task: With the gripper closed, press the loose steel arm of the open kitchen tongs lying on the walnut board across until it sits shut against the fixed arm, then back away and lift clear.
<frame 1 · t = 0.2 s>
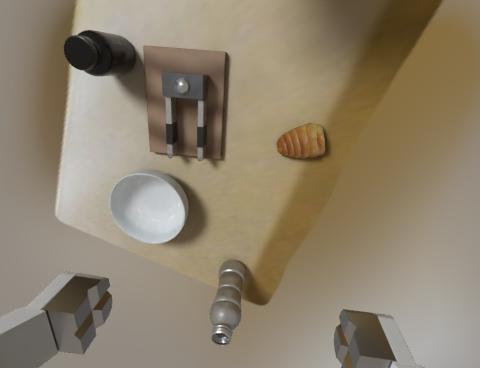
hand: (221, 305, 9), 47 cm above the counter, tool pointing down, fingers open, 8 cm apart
tong hinge: (191, 84, 52), resting on walnut board
cereal bowl: (159, 196, 63), on the counter
fixed tong arm: (177, 123, 55), resting on walnut board
loose tong arm: (202, 130, 52), point 3 cm above the counter, slide at 0.0 cm
pastry: (303, 141, 54), on the counter
supplement bottle: (120, 55, 51), on the counter
walnut board: (186, 105, 53), on the counter
plastic bottle: (233, 266, 69), on the counter
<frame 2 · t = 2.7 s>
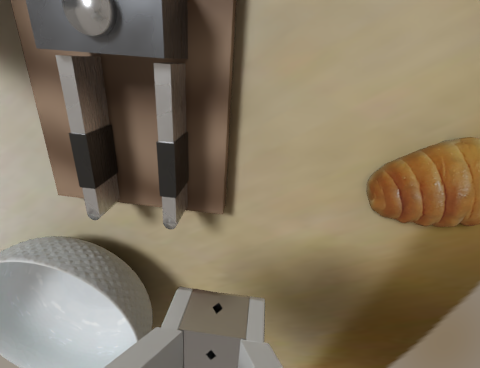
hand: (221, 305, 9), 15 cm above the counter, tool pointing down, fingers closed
tong hinge: (143, 24, 19), resting on walnut board
cereal bowl: (97, 276, 31), on the counter
fixed tong arm: (117, 128, 23), resting on walnut board
loose tong arm: (173, 150, 19), point 3 cm above the counter, slide at 0.0 cm
pastry: (432, 179, 22), on the counter
walnut board: (135, 82, 21), on the counter
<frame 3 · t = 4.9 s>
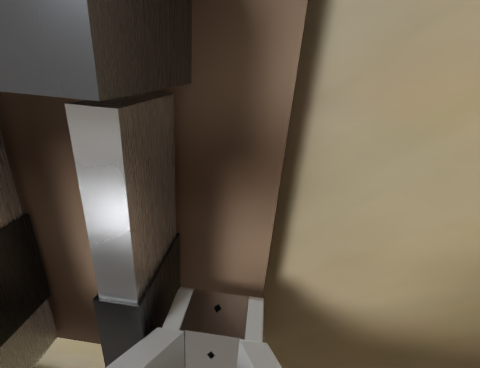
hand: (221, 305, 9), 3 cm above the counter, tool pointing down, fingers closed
tong hinge: (92, 3, 8), resting on walnut board
fixed tong arm: (52, 208, 12), resting on walnut board
loose tong arm: (146, 287, 8), point 3 cm above the counter, slide at 0.3 cm, touching gripper
walnut board: (81, 126, 10), on the counter
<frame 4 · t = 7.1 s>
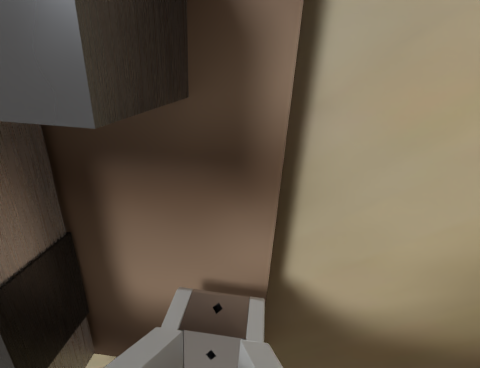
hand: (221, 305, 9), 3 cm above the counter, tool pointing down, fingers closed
tong hinge: (89, 19, 9), resting on walnut board
loose tong arm: (26, 284, 9), point 3 cm above the counter, slide at 4.4 cm
walnut board: (82, 140, 10), on the counter
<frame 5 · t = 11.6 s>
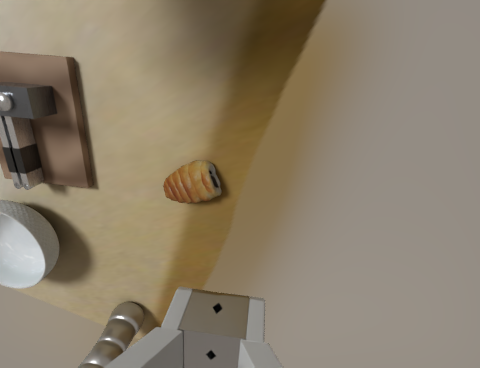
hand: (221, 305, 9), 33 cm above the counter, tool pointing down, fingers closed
tong hinge: (39, 97, 41), resting on walnut board
cereal bowl: (33, 228, 52), on the counter
fixed tong arm: (33, 144, 45), resting on walnut board
loose tong arm: (26, 152, 42), point 3 cm above the counter, slide at 4.4 cm
pastry: (197, 180, 45), on the counter
walnut board: (39, 122, 43), on the counter
plastic bottle: (133, 308, 58), on the counter
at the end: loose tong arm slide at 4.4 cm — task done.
